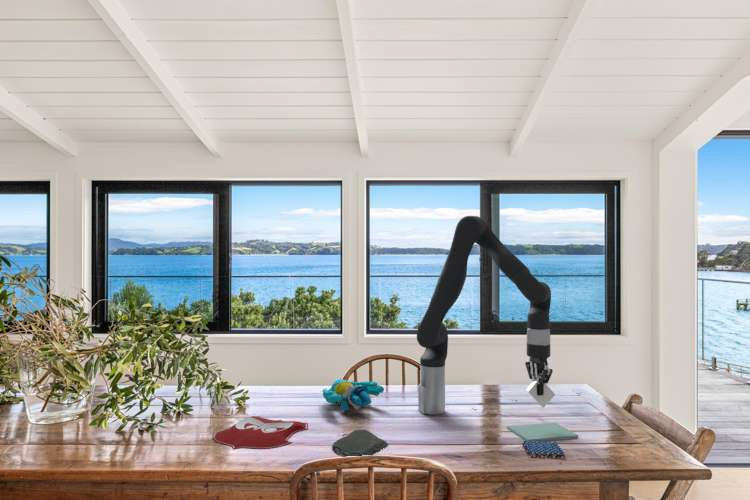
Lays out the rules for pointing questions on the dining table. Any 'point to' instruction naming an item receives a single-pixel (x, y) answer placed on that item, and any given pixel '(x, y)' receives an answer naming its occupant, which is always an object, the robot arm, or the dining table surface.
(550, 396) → the rectangular block
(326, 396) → the toy
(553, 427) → the mat
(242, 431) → the emblem
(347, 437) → the stone slab
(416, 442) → the dining table surface
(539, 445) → the woven mat
